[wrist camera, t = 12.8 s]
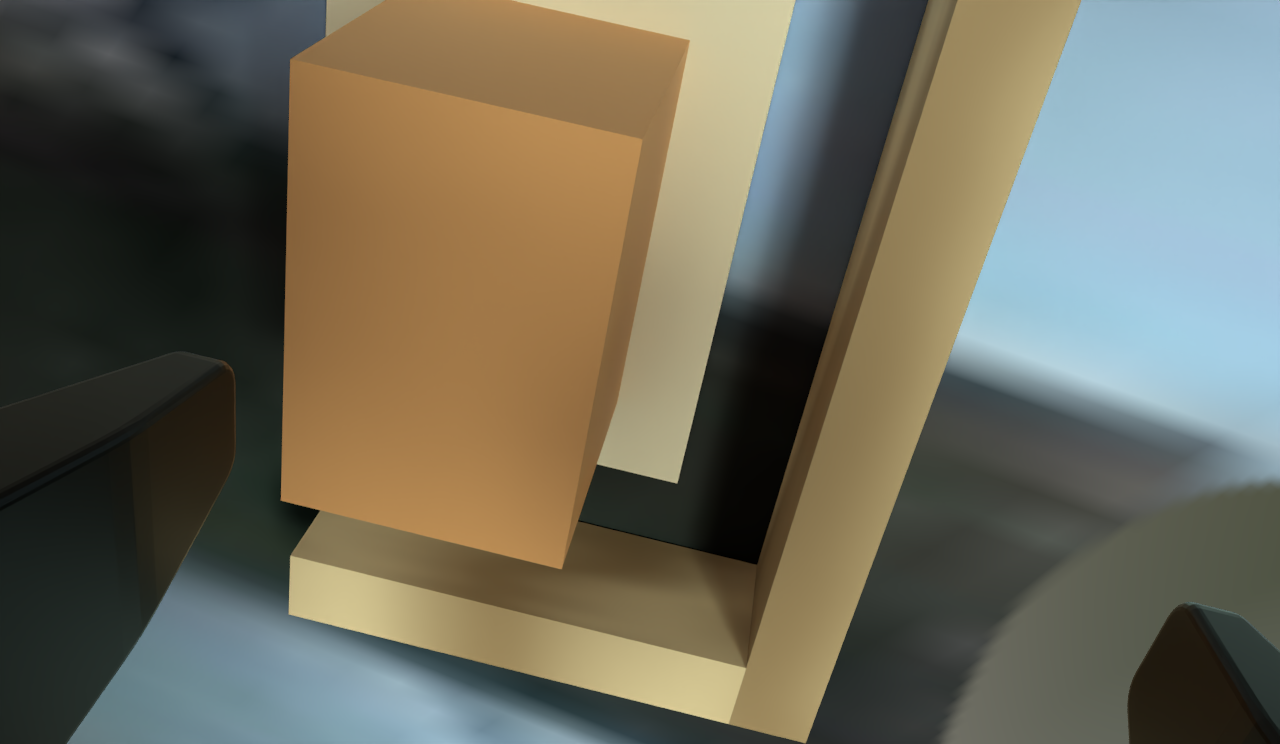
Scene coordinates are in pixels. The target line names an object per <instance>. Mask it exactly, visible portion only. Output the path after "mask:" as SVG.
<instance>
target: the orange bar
mask: <svg viewBox="0 0 1280 744" xmlns="http://www.w3.org/2000/svg"><path fill="white" fill-rule="evenodd" d="M689 43H690V40H687V39H682V38H678V37H673V36H669V35H664V34H660V33H655V32H651V31H646V30H642V29H637V28H633V27H628V26H624V25H620V24H615V23H611V22H606V21H602V20H597V19H593V18H588V17H584V16H579V15H575V14H570V13H566V12H561V11H557V10H552V9H548V8H543V7H539V6H535V5H530V4H526V3H521V2H517V1H512V0H385V1H383V2H382V3H380V4H378V5H377V6H375V7H373V8H372V9H370V10H369V11H367V12H365V13H364V14H362V15H361V16H359V17H357V18H356V19H354V20H352V21H351V22H349V23H348V24H346V25H344V26H343V27H341V28H340V29H338V30H336V31H335V32H333V33H331V34H330V35H328V36H327V37H325V38H323V39H322V40H320V41H318V42H317V43H315V44H314V45H312V46H310V47H309V48H307V49H306V50H304V51H302V52H301V53H299V54H297V55H296V56H294V57H293V58H291V59H290V92H289V140H288V188H287V235H286V283H285V331H284V378H283V426H282V474H281V501H284V502H288V503H292V504H296V505H300V506H305V507H309V508H313V509H317V510H321V511H325V512H329V513H333V514H337V515H341V516H345V517H349V518H354V519H358V520H362V521H366V522H370V523H374V524H378V525H382V526H386V527H390V528H394V529H398V530H403V531H407V532H411V533H415V534H419V535H423V536H427V537H431V538H435V539H439V540H443V541H448V542H452V543H456V544H460V545H464V546H468V547H472V548H476V549H480V550H484V551H488V552H492V553H497V554H501V555H505V556H509V557H513V558H517V559H521V560H525V561H529V562H533V563H537V564H541V565H546V566H550V567H554V568H558V569H562V567H563V564H564V561H565V558H566V555H567V552H568V549H569V546H570V543H571V540H572V537H573V534H574V531H575V528H576V525H577V522H578V519H579V516H580V513H581V510H582V507H583V504H584V501H585V498H586V495H587V492H588V489H589V486H590V483H591V480H592V477H593V474H594V471H595V468H596V465H597V462H598V459H599V456H600V453H601V450H602V447H603V444H604V441H605V438H606V435H607V432H608V429H609V426H610V423H611V420H612V417H613V414H614V411H615V408H616V405H617V401H618V396H619V391H620V386H621V381H622V376H623V371H624V366H625V361H626V356H627V351H628V346H629V342H630V337H631V332H632V327H633V322H634V317H635V312H636V307H637V302H638V297H639V292H640V287H641V282H642V277H643V272H644V267H645V262H646V257H647V252H648V247H649V242H650V237H651V232H652V227H653V222H654V217H655V212H656V207H657V202H658V197H659V192H660V187H661V182H662V178H663V173H664V168H665V163H666V158H667V153H668V148H669V143H670V138H671V133H672V128H673V123H674V118H675V113H676V108H677V103H678V98H679V93H680V88H681V83H682V78H683V73H684V68H685V63H686V58H687V53H688V48H689Z"/></svg>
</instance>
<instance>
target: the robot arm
mask: <svg viewBox="0 0 1280 744" xmlns="http://www.w3.org/2000/svg"><path fill="white" fill-rule="evenodd" d="M235 448H236V416H235V377H234V373H233V370H232V368H231V367H230V366H229V365H228V364H227V363H226V362H224V361H221V360H217V359H213V358H209V357H205V356H201V355H197V354H193V353H189V352H185V351H177V352H172V353H169V354H166V355H163V356H160V357H157V358H154V359H150V360H147V361H144V362H141V363H138V364H135V365H132V366H129V367H126V368H122V369H119V370H116V371H113V372H110V373H107V374H104V375H101V376H97V377H94V378H91V379H88V380H85V381H82V382H79V383H76V384H72V385H69V386H66V387H63V388H60V389H57V390H54V391H51V392H47V393H44V394H41V395H38V396H35V397H32V398H29V399H25V400H22V401H19V402H16V403H13V404H10V405H7V406H4V407H0V744H67V742H68V741H69V739H70V738H71V736H72V735H73V734H74V732H75V731H76V729H77V728H78V726H79V725H80V724H81V722H82V721H83V719H84V718H85V717H86V715H87V714H88V712H89V711H90V709H91V708H92V707H93V705H94V704H95V702H96V701H97V699H98V698H99V697H100V695H101V694H102V692H103V691H104V690H105V688H106V687H107V685H108V684H109V682H110V681H111V680H112V678H113V677H114V675H115V674H116V672H117V671H118V670H119V668H120V667H121V665H122V664H123V662H124V661H125V660H126V658H127V657H128V655H129V654H130V652H131V651H132V649H133V648H134V646H135V645H136V643H137V642H138V640H139V638H140V637H141V635H142V634H143V632H144V630H145V629H146V627H147V625H148V624H149V622H150V620H151V618H152V617H153V615H154V613H155V611H156V610H157V608H158V606H159V604H160V602H161V601H162V599H163V597H164V595H165V593H166V591H167V589H168V588H169V586H170V584H171V582H172V580H173V578H174V577H175V575H176V573H177V571H178V569H179V567H180V566H181V564H182V562H183V560H184V558H185V556H186V554H187V553H188V551H189V549H190V547H191V545H192V543H193V542H194V540H195V538H196V536H197V534H198V532H199V530H200V529H201V527H202V525H203V523H204V521H205V519H206V518H207V516H208V514H209V512H210V510H211V508H212V506H213V505H214V503H215V501H216V499H217V497H218V495H219V494H220V492H221V490H222V488H223V486H224V484H225V482H226V481H227V478H228V476H229V474H230V471H231V469H232V465H233V462H234V457H235ZM1128 728H1129V744H1280V651H1279V650H1278V649H1277V648H1276V647H1275V646H1274V645H1273V644H1271V643H1270V642H1269V641H1268V640H1267V639H1266V638H1265V637H1264V636H1263V635H1262V634H1261V633H1260V632H1259V631H1258V630H1257V629H1255V628H1254V627H1253V626H1252V625H1251V624H1250V623H1249V622H1248V621H1247V620H1246V619H1245V618H1243V617H1242V616H1240V615H1238V614H1236V613H1234V612H1230V611H1226V610H1222V609H1218V608H1213V607H1209V606H1205V605H1201V604H1197V603H1193V602H1187V603H1183V604H1181V605H1178V606H1177V607H1176V608H1175V609H1174V610H1173V611H1172V612H1171V614H1170V615H1169V616H1168V618H1167V620H1166V622H1165V623H1164V625H1163V627H1162V628H1161V630H1160V632H1159V634H1158V635H1157V637H1156V639H1155V641H1154V642H1153V644H1152V646H1151V648H1150V649H1149V651H1148V653H1147V654H1146V656H1145V658H1144V659H1143V661H1142V663H1141V665H1140V666H1139V668H1138V670H1137V671H1136V673H1135V675H1134V677H1133V680H1132V683H1131V686H1130V690H1129V695H1128Z"/></svg>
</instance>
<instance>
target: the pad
mask: <svg viewBox="0 0 1280 744" xmlns="http://www.w3.org/2000/svg"><path fill="white" fill-rule="evenodd" d="M383 1H385V0H327V9H326V36H325V37H327V36H328V35H330V34H331V33H333V32H335V31H336V30H338V29H340V28H341V27H343V26H344V25H346V24H348V23H349V22H351V21H352V20H354V19H356V18H357V17H359V16H361V15H362V14H364V13H365V12H367V11H369V10H370V9H372V8H373V7H375V6H377V5H378V4H380V3H382V2H383ZM512 1H517V2H521V3H526V4H530V5H535V6H539V7H543V8H548V9H552V10H557V11H561V12H566V13H570V14H575V15H579V16H584V17H588V18H593V19H597V20H602V21H606V22H611V23H615V24H620V25H624V26H628V27H633V28H637V29H642V30H646V31H651V32H655V33H660V34H664V35H669V36H673V37H678V38H682V39H687V40H690V43H689V48H688V53H687V58H686V63H685V68H684V73H683V78H682V83H681V88H680V93H679V98H678V103H677V108H676V113H675V118H674V123H673V128H672V133H671V138H670V143H669V148H668V153H667V158H666V163H665V168H664V173H663V178H662V182H661V187H660V192H659V197H658V202H657V207H656V212H655V217H654V222H653V227H652V232H651V237H650V242H649V247H648V252H647V257H646V262H645V267H644V272H643V277H642V282H641V287H640V292H639V297H638V302H637V307H636V312H635V317H634V322H633V327H632V332H631V337H630V342H629V346H628V351H627V356H626V361H625V366H624V371H623V376H622V381H621V386H620V391H619V396H618V401H617V405H616V408H615V411H614V414H613V417H612V420H611V423H610V426H609V429H608V432H607V435H606V438H605V441H604V444H603V447H602V450H601V453H600V456H599V459H598V462H597V464H598V465H602V466H606V467H611V468H615V469H619V470H623V471H627V472H631V473H636V474H640V475H644V476H648V477H652V478H656V479H660V480H665V481H669V482H673V483H678V479H679V475H680V470H681V466H682V462H683V458H684V454H685V450H686V446H687V442H688V438H689V434H690V430H691V425H692V421H693V417H694V413H695V409H696V405H697V401H698V397H699V393H700V389H701V385H702V380H703V376H704V372H705V368H706V364H707V360H708V356H709V352H710V348H711V344H712V340H713V336H714V331H715V327H716V323H717V319H718V315H719V311H720V307H721V303H722V299H723V295H724V291H725V286H726V282H727V278H728V274H729V270H730V266H731V262H732V258H733V254H734V250H735V246H736V241H737V237H738V233H739V229H740V225H741V221H742V217H743V213H744V209H745V205H746V201H747V197H748V192H749V188H750V184H751V180H752V176H753V172H754V168H755V164H756V160H757V156H758V152H759V147H760V143H761V139H762V135H763V131H764V127H765V123H766V119H767V115H768V111H769V107H770V102H771V98H772V94H773V90H774V86H775V82H776V78H777V74H778V70H779V66H780V62H781V58H782V53H783V49H784V45H785V41H786V37H787V33H788V29H789V25H790V21H791V17H792V13H793V8H794V4H795V0H512Z"/></svg>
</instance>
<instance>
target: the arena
mask: <svg viewBox="0 0 1280 744" xmlns="http://www.w3.org/2000/svg"><path fill="white" fill-rule="evenodd" d="M1080 2H1081V0H928V3H927V6H926V10H925V13H924V16H923V20H922V23H921V26H920V29H919V33H918V36H917V39H916V43H915V46H914V49H913V52H912V56H911V59H910V62H909V66H908V69H907V72H906V76H905V79H904V82H903V85H902V89H901V92H900V95H899V99H898V102H897V105H896V108H895V112H894V115H893V118H892V122H891V125H890V128H889V132H888V135H887V138H886V141H885V145H884V148H883V151H882V155H881V158H880V161H879V165H878V168H877V171H876V174H875V178H874V181H873V184H872V188H871V191H870V194H869V197H868V201H867V204H866V207H865V211H864V214H863V217H862V221H861V224H860V227H859V230H858V234H857V237H856V240H855V244H854V247H853V250H852V253H851V257H850V260H849V263H848V267H847V270H846V273H845V277H844V280H843V283H842V286H841V290H840V293H839V296H838V300H837V303H836V306H835V310H834V313H833V316H832V319H831V323H830V326H829V329H828V333H827V336H826V339H825V342H824V346H823V349H822V352H821V356H820V359H819V362H818V366H817V369H816V372H815V375H814V379H813V382H812V385H811V389H810V392H809V395H808V398H807V402H806V405H805V408H804V412H803V415H802V418H801V422H800V425H799V428H798V431H797V435H796V438H795V441H794V445H793V448H792V451H791V455H790V458H789V461H788V464H787V468H786V471H785V474H784V478H783V481H782V484H781V487H780V491H779V494H778V497H777V501H776V504H775V507H774V511H773V514H772V517H771V520H770V524H769V527H768V530H767V534H766V537H765V540H764V543H763V547H762V550H761V553H760V557H759V560H758V563H757V565H755V564H751V563H747V562H743V561H739V560H735V559H731V558H726V557H722V556H718V555H714V554H710V553H706V552H702V551H698V550H694V549H689V548H685V547H681V546H677V545H673V544H669V543H665V542H661V541H657V540H652V539H648V538H644V537H640V536H636V535H632V534H628V533H624V532H620V531H615V530H611V529H607V528H603V527H599V526H595V525H591V524H587V523H583V522H577V525H576V528H575V531H574V534H573V537H572V540H571V543H570V546H569V549H568V552H567V555H566V558H565V561H564V564H563V567H562V569H558V568H554V567H550V566H546V565H541V564H537V563H533V562H529V561H525V560H521V559H517V558H513V557H509V556H505V555H501V554H497V553H492V552H488V551H484V550H480V549H476V548H472V547H468V546H464V545H460V544H456V543H452V542H448V541H443V540H439V539H435V538H431V537H427V536H423V535H419V534H415V533H411V532H407V531H403V530H398V529H394V528H390V527H386V526H382V525H378V524H374V523H370V522H366V521H362V520H358V519H354V518H349V517H345V516H341V515H337V514H333V513H329V512H325V511H321V510H320V512H319V513H318V515H317V516H316V518H315V519H314V521H313V522H312V524H311V525H310V527H309V528H308V530H307V531H306V533H305V534H304V536H303V537H302V539H301V540H300V542H299V543H298V545H297V546H296V548H295V549H294V551H293V552H292V554H291V555H290V588H289V614H290V615H294V616H298V617H302V618H306V619H310V620H314V621H318V622H322V623H326V624H330V625H334V626H338V627H342V628H346V629H350V630H354V631H358V632H362V633H366V634H370V635H374V636H378V637H382V638H386V639H390V640H394V641H398V642H402V643H406V644H410V645H414V646H418V647H422V648H426V649H430V650H434V651H438V652H442V653H446V654H450V655H454V656H458V657H462V658H466V659H470V660H474V661H478V662H482V663H486V664H490V665H494V666H498V667H502V668H506V669H510V670H514V671H518V672H522V673H526V674H530V675H534V676H538V677H542V678H546V679H550V680H554V681H558V682H562V683H566V684H570V685H574V686H578V687H582V688H586V689H590V690H594V691H598V692H602V693H606V694H610V695H614V696H618V697H622V698H627V699H631V700H635V701H639V702H643V703H647V704H651V705H655V706H659V707H663V708H667V709H671V710H675V711H679V712H683V713H687V714H691V715H695V716H699V717H703V718H707V719H711V720H715V721H719V722H723V723H727V724H731V725H735V726H739V727H743V728H747V729H751V730H755V731H759V732H763V733H767V734H771V735H775V736H779V737H783V738H787V739H791V740H795V741H799V742H803V743H806V740H807V738H808V735H809V732H810V730H811V727H812V724H813V722H814V719H815V716H816V714H817V711H818V708H819V705H820V703H821V700H822V697H823V695H824V692H825V689H826V687H827V684H828V681H829V679H830V676H831V673H832V670H833V668H834V665H835V662H836V660H837V657H838V654H839V652H840V649H841V646H842V643H843V641H844V638H845V635H846V633H847V630H848V627H849V625H850V622H851V619H852V617H853V614H854V611H855V608H856V606H857V603H858V600H859V598H860V595H861V592H862V590H863V587H864V584H865V582H866V579H867V576H868V573H869V571H870V568H871V565H872V563H873V560H874V557H875V555H876V552H877V549H878V547H879V544H880V541H881V538H882V536H883V533H884V530H885V528H886V525H887V522H888V520H889V517H890V514H891V511H892V509H893V506H894V503H895V501H896V498H897V495H898V493H899V490H900V487H901V485H902V482H903V479H904V476H905V474H906V471H907V468H908V466H909V463H910V460H911V458H912V455H913V452H914V450H915V447H916V444H917V441H918V439H919V436H920V433H921V431H922V428H923V425H924V423H925V420H926V417H927V415H928V412H929V409H930V406H931V404H932V401H933V398H934V396H935V393H936V390H937V388H938V385H939V382H940V380H941V377H942V374H943V371H944V369H945V366H946V363H947V361H948V358H949V355H950V353H951V350H952V347H953V344H954V342H955V339H956V336H957V334H958V331H959V328H960V326H961V323H962V320H963V318H964V315H965V312H966V309H967V307H968V304H969V301H970V299H971V296H972V293H973V291H974V288H975V285H976V283H977V280H978V277H979V274H980V272H981V269H982V266H983V264H984V261H985V258H986V256H987V253H988V250H989V248H990V245H991V242H992V239H993V237H994V234H995V231H996V229H997V226H998V223H999V221H1000V218H1001V215H1002V212H1003V210H1004V207H1005V204H1006V202H1007V199H1008V196H1009V194H1010V191H1011V188H1012V186H1013V183H1014V180H1015V177H1016V175H1017V172H1018V169H1019V167H1020V164H1021V161H1022V159H1023V156H1024V153H1025V151H1026V148H1027V145H1028V142H1029V140H1030V137H1031V134H1032V132H1033V129H1034V126H1035V124H1036V121H1037V118H1038V116H1039V113H1040V110H1041V107H1042V105H1043V102H1044V99H1045V97H1046V94H1047V91H1048V89H1049V86H1050V83H1051V81H1052V78H1053V75H1054V72H1055V70H1056V67H1057V64H1058V62H1059V59H1060V56H1061V54H1062V51H1063V48H1064V45H1065V43H1066V40H1067V37H1068V35H1069V32H1070V29H1071V27H1072V24H1073V21H1074V19H1075V16H1076V13H1077V10H1078V8H1079V5H1080Z"/></svg>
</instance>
